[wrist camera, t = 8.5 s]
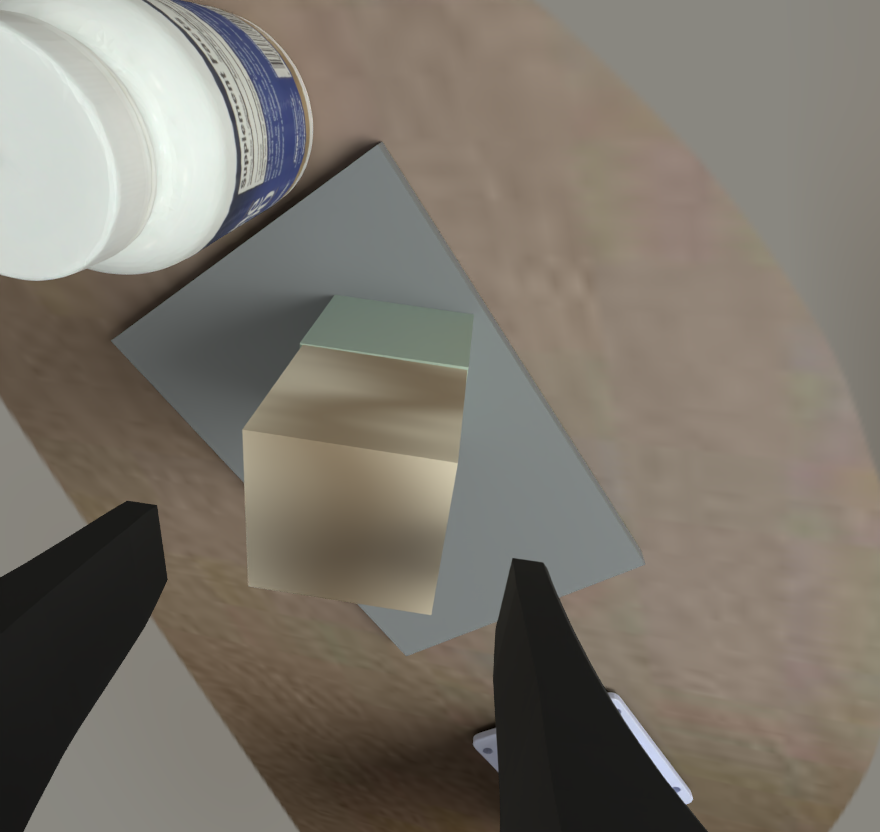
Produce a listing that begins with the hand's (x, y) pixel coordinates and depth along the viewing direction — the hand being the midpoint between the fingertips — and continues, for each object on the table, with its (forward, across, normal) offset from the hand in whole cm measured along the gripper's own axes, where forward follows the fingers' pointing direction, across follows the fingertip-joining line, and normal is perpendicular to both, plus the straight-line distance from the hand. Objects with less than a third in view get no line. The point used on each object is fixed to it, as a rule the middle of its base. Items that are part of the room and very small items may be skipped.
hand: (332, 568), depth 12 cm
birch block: (+6, 0, 0) cm, 6 cm away
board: (+10, 0, +4) cm, 11 cm away
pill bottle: (+11, +6, -7) cm, 14 cm away
